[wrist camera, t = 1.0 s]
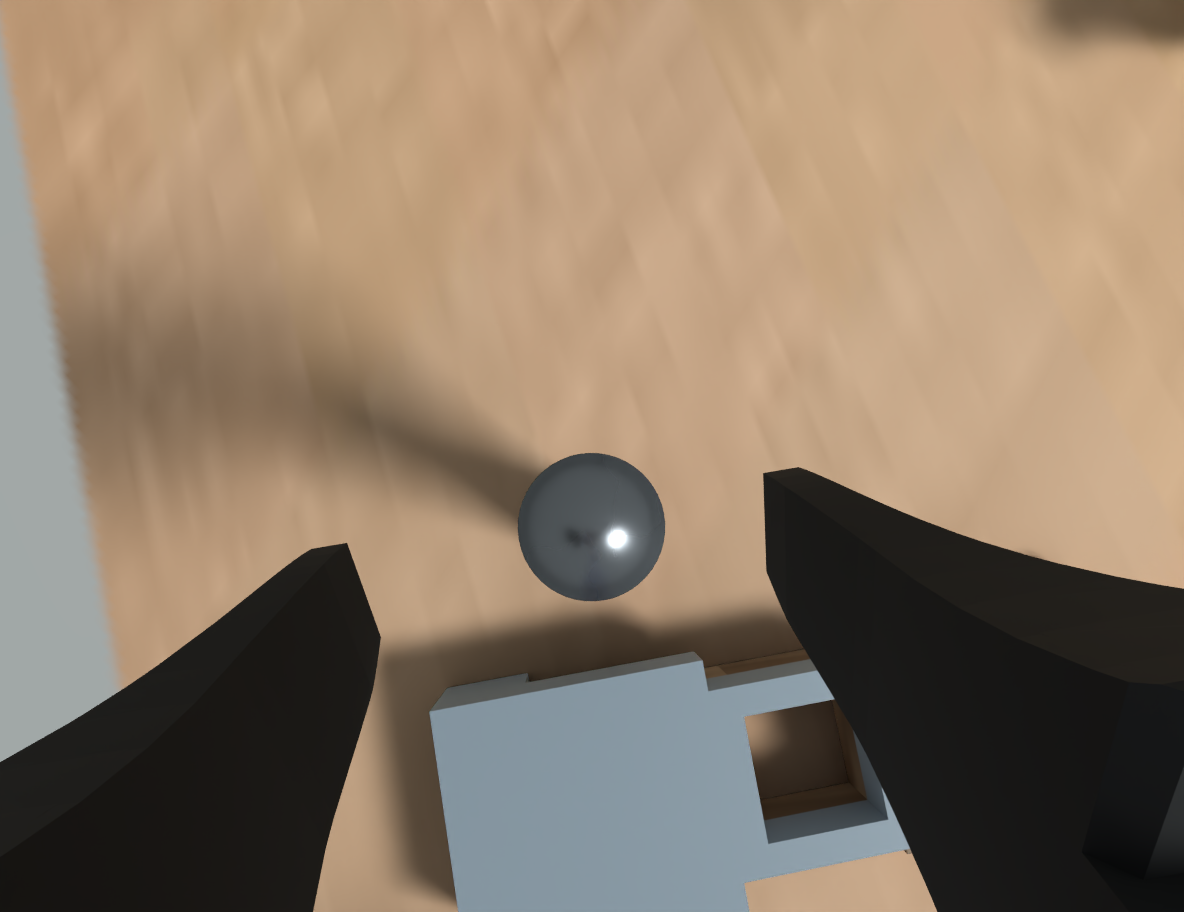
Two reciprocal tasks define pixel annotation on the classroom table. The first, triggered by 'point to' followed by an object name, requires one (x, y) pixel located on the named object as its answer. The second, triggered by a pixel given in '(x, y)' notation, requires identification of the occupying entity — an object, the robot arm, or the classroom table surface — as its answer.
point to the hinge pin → (591, 527)
